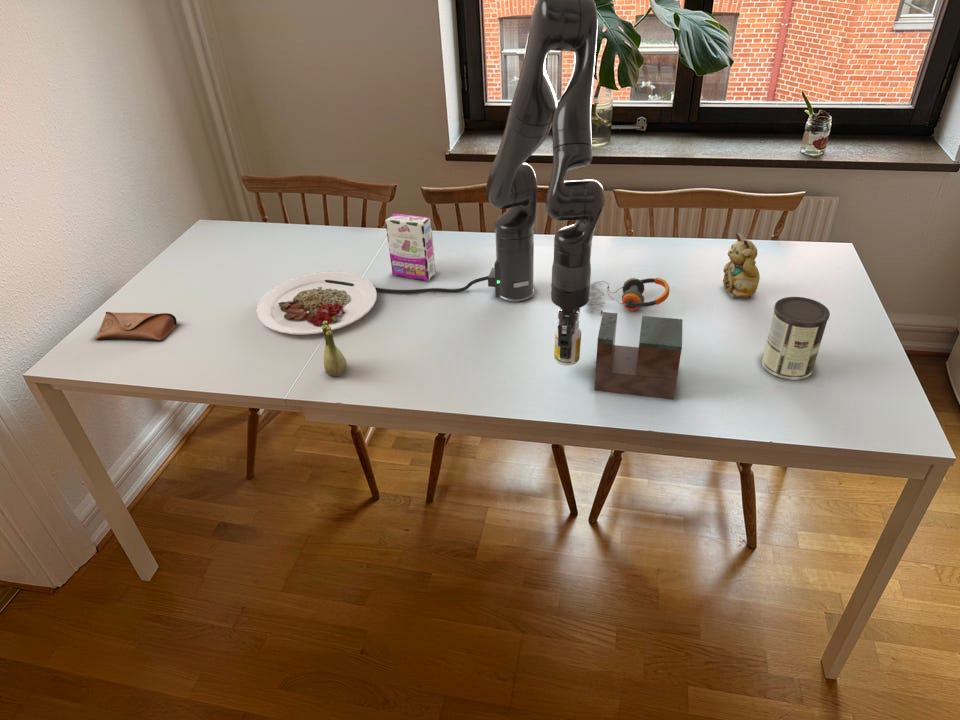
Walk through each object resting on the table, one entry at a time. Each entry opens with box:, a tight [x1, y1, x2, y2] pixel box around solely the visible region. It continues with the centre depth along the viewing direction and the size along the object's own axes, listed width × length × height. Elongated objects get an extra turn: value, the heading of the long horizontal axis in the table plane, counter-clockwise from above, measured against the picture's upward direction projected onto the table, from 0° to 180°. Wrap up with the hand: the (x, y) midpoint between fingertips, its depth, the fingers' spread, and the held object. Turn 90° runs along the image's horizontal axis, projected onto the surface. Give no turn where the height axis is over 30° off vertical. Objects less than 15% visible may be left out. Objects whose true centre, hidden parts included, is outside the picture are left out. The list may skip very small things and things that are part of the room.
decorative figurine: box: [722, 232, 761, 299], centre depth 167 cm, size 10×8×15 cm
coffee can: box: [761, 296, 831, 381], centre depth 142 cm, size 10×10×14 cm
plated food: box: [256, 271, 378, 336], centre depth 173 cm, size 30×30×3 cm
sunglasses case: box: [94, 311, 178, 341], centre depth 168 cm, size 18×7×7 cm
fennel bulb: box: [322, 321, 348, 377], centre depth 148 cm, size 6×5×12 cm
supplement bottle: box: [553, 320, 582, 367], centre depth 143 cm, size 5×5×10 cm
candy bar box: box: [384, 213, 437, 282], centre depth 181 cm, size 11×5×16 cm, turn 68°
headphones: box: [587, 277, 670, 317], centre depth 168 cm, size 17×5×20 cm
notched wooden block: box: [593, 311, 683, 400], centre depth 140 cm, size 16×10×13 cm, turn 76°
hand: (567, 349), depth 144 cm, fingers closed on supplement bottle, 5 cm apart
